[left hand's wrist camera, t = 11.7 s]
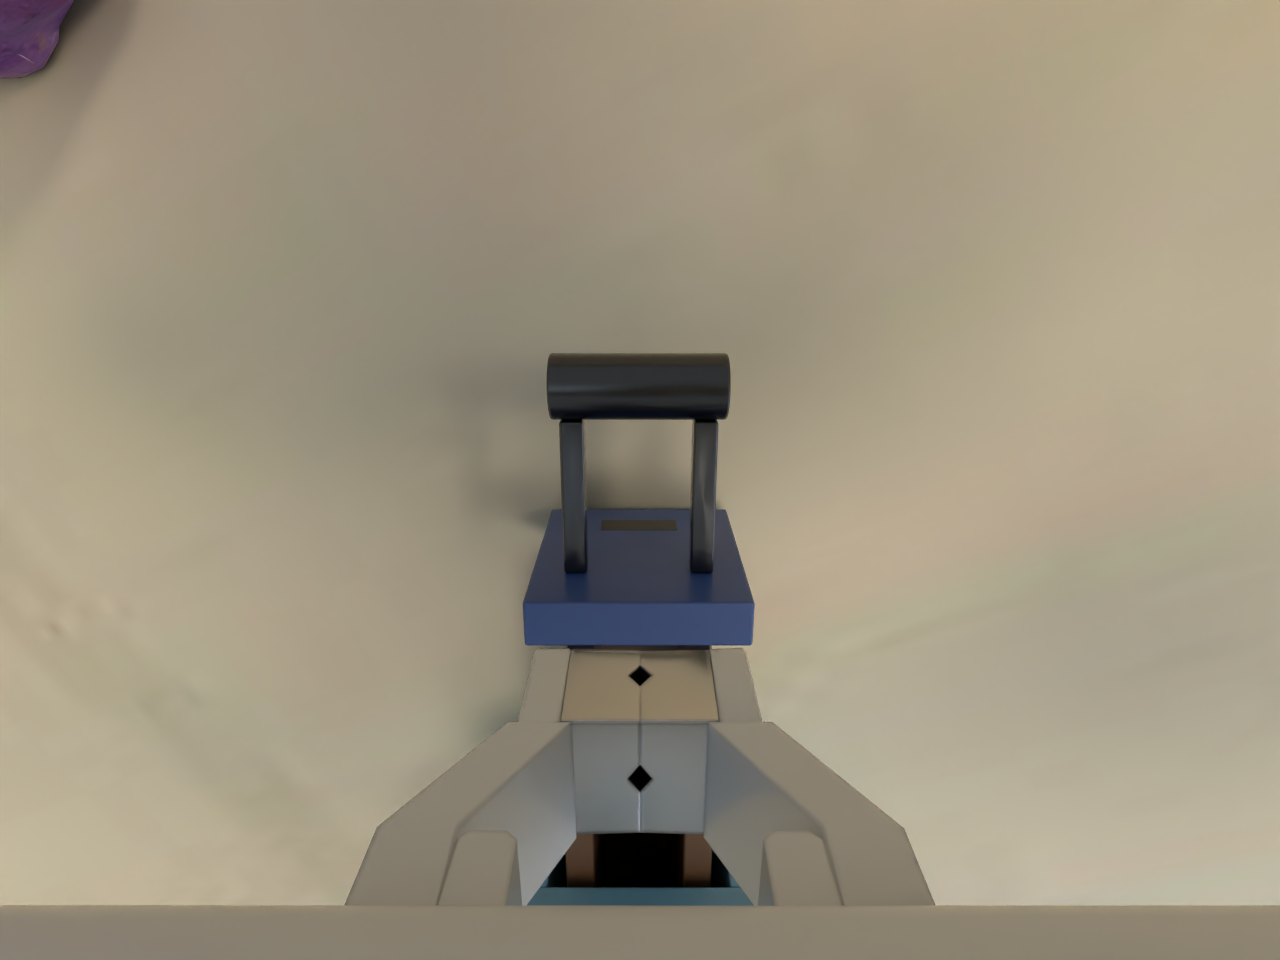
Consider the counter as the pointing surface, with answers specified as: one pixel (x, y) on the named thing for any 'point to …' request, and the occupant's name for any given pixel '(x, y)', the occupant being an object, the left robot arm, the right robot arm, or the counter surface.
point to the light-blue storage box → (643, 892)
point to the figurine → (29, 34)
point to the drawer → (638, 567)
